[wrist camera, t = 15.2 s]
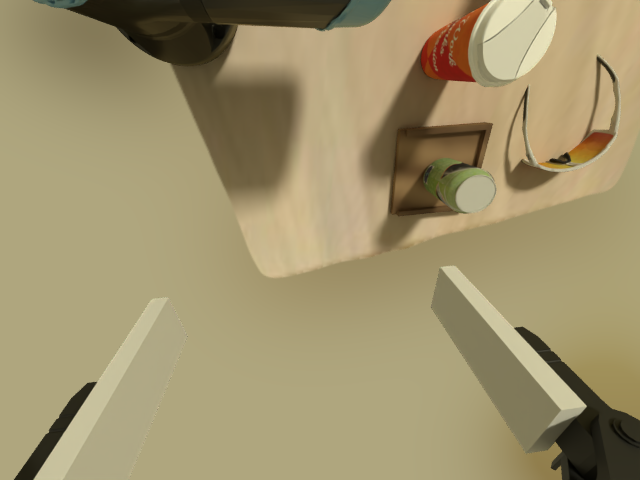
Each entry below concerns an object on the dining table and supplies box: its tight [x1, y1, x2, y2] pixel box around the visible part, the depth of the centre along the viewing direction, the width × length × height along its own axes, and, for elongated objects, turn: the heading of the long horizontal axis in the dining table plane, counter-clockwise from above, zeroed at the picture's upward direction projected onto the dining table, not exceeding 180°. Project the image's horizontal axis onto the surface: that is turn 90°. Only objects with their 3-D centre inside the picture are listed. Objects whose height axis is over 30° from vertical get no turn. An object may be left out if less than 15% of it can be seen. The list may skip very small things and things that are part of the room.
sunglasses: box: [522, 54, 621, 172], centre depth 40 cm, size 14×15×5 cm
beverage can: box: [423, 158, 496, 214], centre depth 37 cm, size 6×7×12 cm
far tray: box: [391, 122, 493, 216], centre depth 43 cm, size 14×14×2 cm
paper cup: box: [421, 0, 556, 87], centre depth 29 cm, size 8×8×14 cm
